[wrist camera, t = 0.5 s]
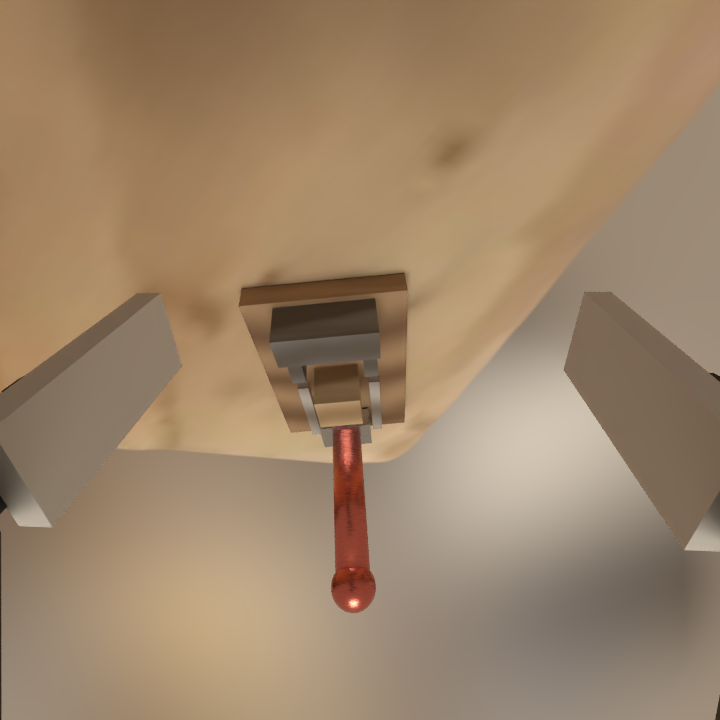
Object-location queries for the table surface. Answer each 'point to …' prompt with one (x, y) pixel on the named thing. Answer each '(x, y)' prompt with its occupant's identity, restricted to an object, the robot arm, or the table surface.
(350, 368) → the block
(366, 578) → the press lever
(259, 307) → the press bed
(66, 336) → the table surface
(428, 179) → the table surface
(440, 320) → the table surface
